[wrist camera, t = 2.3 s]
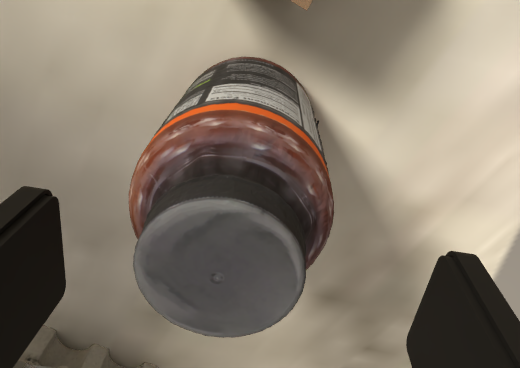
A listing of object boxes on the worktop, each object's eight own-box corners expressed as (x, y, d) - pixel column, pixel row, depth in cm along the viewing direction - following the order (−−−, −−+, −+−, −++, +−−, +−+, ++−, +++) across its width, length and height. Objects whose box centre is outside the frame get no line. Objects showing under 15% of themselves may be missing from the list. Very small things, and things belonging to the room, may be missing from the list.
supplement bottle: (274, 196, 22) (269, 400, 12) (165, 143, 21) (54, 316, 10) (339, 93, 19) (404, 238, 9) (217, 26, 18) (138, 107, 8)
